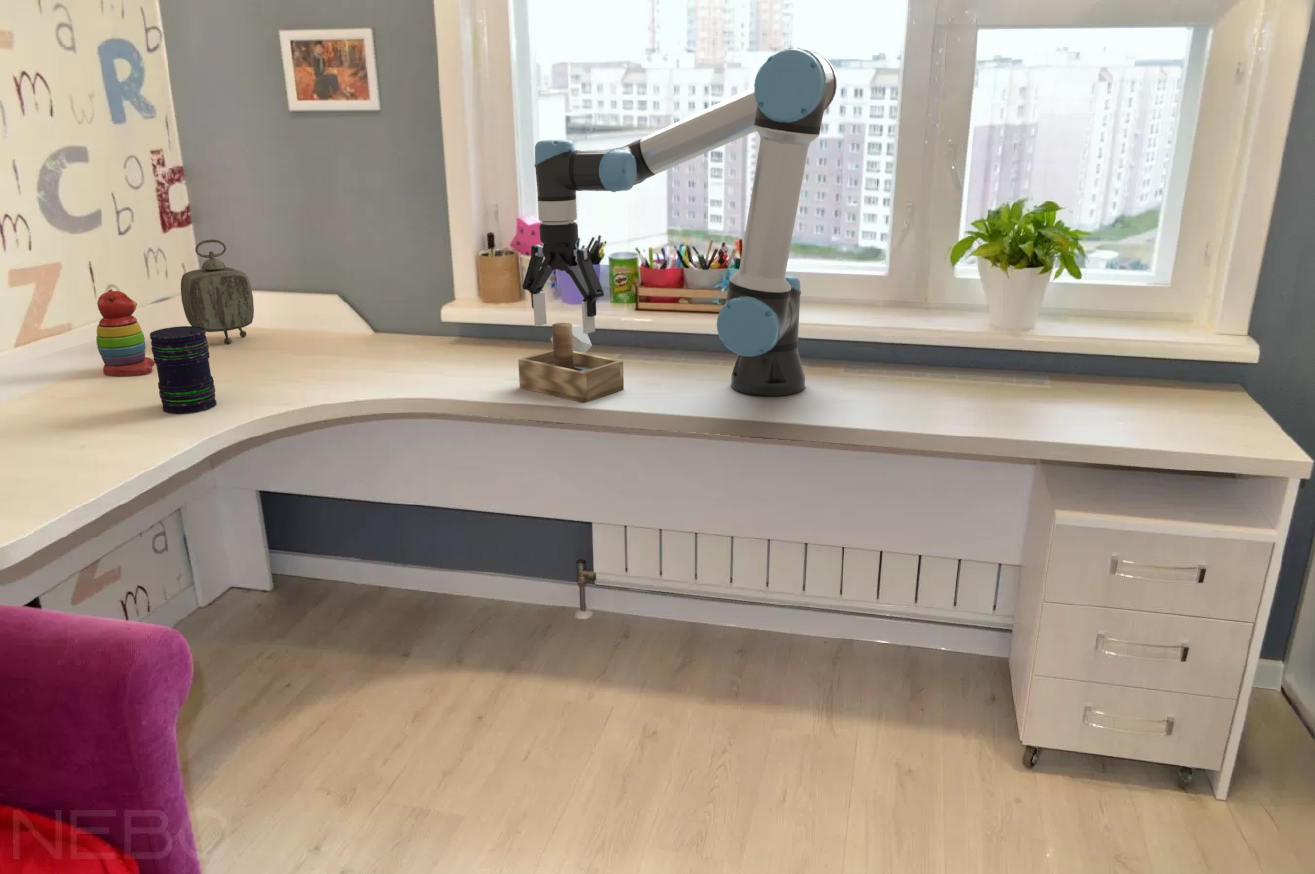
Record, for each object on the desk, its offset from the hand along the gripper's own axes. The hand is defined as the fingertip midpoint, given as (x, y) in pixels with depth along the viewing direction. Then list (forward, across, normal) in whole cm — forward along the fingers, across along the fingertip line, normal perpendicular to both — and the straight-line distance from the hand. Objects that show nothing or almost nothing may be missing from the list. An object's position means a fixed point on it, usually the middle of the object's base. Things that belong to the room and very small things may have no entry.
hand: (564, 328), depth 202 cm
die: (+12, +16, -18) cm, 27 cm away
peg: (+11, +1, 0) cm, 11 cm away
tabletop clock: (+10, +94, +23) cm, 97 cm away
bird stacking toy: (+10, +86, +50) cm, 100 cm away
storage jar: (+11, +49, +55) cm, 74 cm away
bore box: (+12, -1, 0) cm, 12 cm away
